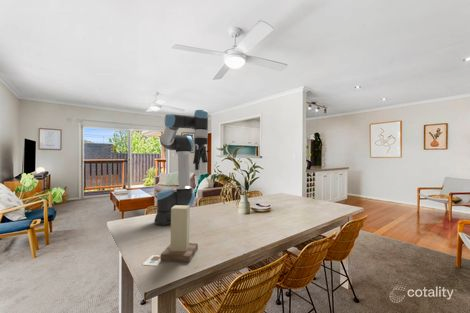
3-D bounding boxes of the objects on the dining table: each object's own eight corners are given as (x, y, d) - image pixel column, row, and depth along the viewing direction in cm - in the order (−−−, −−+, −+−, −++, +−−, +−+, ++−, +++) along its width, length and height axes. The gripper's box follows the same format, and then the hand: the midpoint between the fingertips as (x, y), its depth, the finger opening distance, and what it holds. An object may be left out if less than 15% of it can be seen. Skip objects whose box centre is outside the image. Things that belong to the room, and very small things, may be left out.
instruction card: (151, 255, 105) (151, 254, 105) (165, 256, 104) (165, 255, 104) (142, 265, 96) (142, 264, 96) (157, 266, 95) (157, 265, 95)
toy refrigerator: (189, 245, 110) (190, 204, 110) (186, 251, 103) (187, 208, 103) (174, 245, 110) (174, 204, 110) (170, 251, 103) (170, 208, 103)
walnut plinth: (172, 247, 114) (172, 242, 114) (197, 249, 112) (197, 243, 112) (160, 260, 100) (160, 254, 100) (189, 262, 99) (189, 256, 98)
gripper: (200, 138, 134) (200, 172, 135) (187, 135, 110) (187, 176, 110) (212, 138, 134) (211, 172, 134) (201, 135, 109) (201, 177, 109)
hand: (200, 174), depth 122 cm, fingers open, 13 cm apart
